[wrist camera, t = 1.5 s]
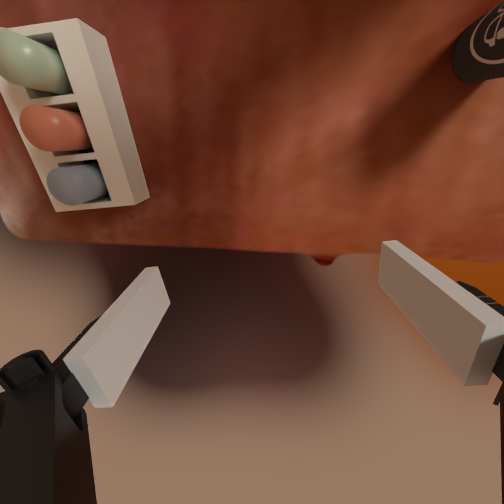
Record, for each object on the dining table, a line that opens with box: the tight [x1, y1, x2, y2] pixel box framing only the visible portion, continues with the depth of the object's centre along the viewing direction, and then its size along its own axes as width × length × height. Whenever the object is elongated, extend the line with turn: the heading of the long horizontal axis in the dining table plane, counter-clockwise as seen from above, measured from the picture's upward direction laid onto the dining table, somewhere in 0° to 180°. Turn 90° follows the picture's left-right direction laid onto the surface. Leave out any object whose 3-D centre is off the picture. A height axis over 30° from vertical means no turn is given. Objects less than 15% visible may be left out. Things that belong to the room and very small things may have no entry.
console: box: [0, 18, 150, 212], centre depth 32 cm, size 20×12×5 cm, turn 5°
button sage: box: [0, 27, 73, 95], centre depth 26 cm, size 5×5×6 cm
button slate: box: [47, 163, 109, 206], centre depth 32 cm, size 5×5×6 cm
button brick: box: [20, 105, 93, 152], centre depth 29 cm, size 5×5×6 cm
